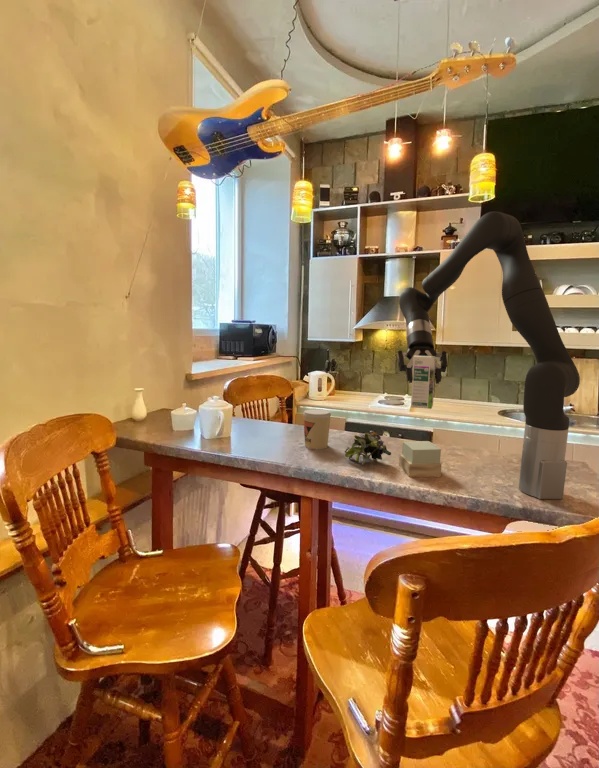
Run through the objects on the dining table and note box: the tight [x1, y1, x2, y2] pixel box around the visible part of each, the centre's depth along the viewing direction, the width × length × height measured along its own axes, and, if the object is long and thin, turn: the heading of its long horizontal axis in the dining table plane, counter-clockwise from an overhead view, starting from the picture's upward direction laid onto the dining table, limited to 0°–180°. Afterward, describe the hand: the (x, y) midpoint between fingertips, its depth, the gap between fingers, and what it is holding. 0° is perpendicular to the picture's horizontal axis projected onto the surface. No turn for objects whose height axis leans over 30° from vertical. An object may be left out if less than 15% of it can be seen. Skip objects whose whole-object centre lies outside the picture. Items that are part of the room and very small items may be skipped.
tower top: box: [401, 440, 442, 464], centre depth 116 cm, size 8×8×4 cm
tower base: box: [398, 453, 442, 478], centre depth 116 cm, size 9×9×4 cm
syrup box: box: [410, 355, 437, 410], centre depth 115 cm, size 6×6×14 cm
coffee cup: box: [302, 408, 332, 450], centre depth 138 cm, size 9×9×12 cm
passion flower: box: [344, 432, 392, 467], centre depth 122 cm, size 11×11×12 cm
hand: (424, 381), depth 113 cm, fingers closed on syrup box, 6 cm apart
